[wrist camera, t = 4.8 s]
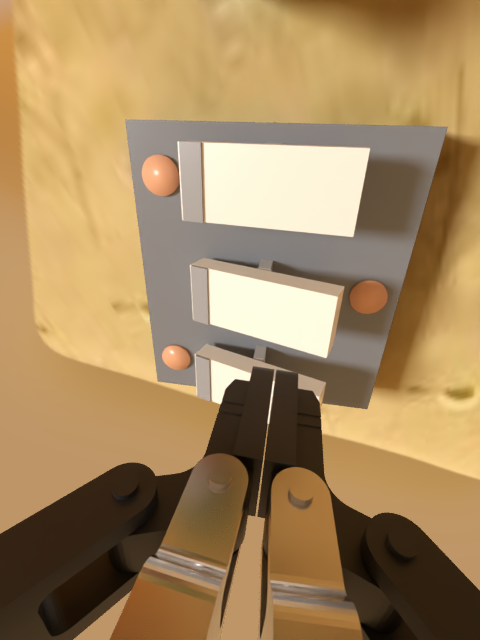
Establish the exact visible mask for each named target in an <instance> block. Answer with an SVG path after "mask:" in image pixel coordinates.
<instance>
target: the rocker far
mask: <svg viewBox="0 0 480 640" xmlns="http://www.w3.org/2000/svg"><path fill="white" fill-rule="evenodd" d="M253 366H256V367H263V368H269V369H274V377H273V385H272V392H271V400H270V408H269V416H268V424H269V419H270V412H271V404H272V397H273V390H274V383H275V376H276V369H277V370H283V371H289V370H286V369H283V368H280V367H277V366H274V365H270V364H267V363H264V362H261V361H258V360H255V359H252V358H249V357H246V356H243V355H239V354H236V353H233V352H230V351H227V350H224V349H221V348H218V347H215V346H212V345H209V344H206V345H204V346H203V347H202V348H201V349H200V350H199V351H198V352H197V353H195V369H196V388H197V397H199V398H202V399H204V400H207V401H209V402H210V401H213V402H216V403H218V404H221V403H222V399H223V395H224V392H225V389H226V388H227V387H228V386H229V385H230V384H231V383H232V382H233V381H234V380H235V379H239V380H245V381H250V377H251V372H252V368H253ZM290 372H292V371H290ZM325 385H326V382H323V381H320V380H317V379H314V378H311V377H308V376H304V375H301V374H298V389H304V390H310V391H313V392H314V394H315V396H316V397H317V399H318V401H319V402H320V411H321V406H322V401H323V396H324V391H325Z"/></svg>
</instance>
